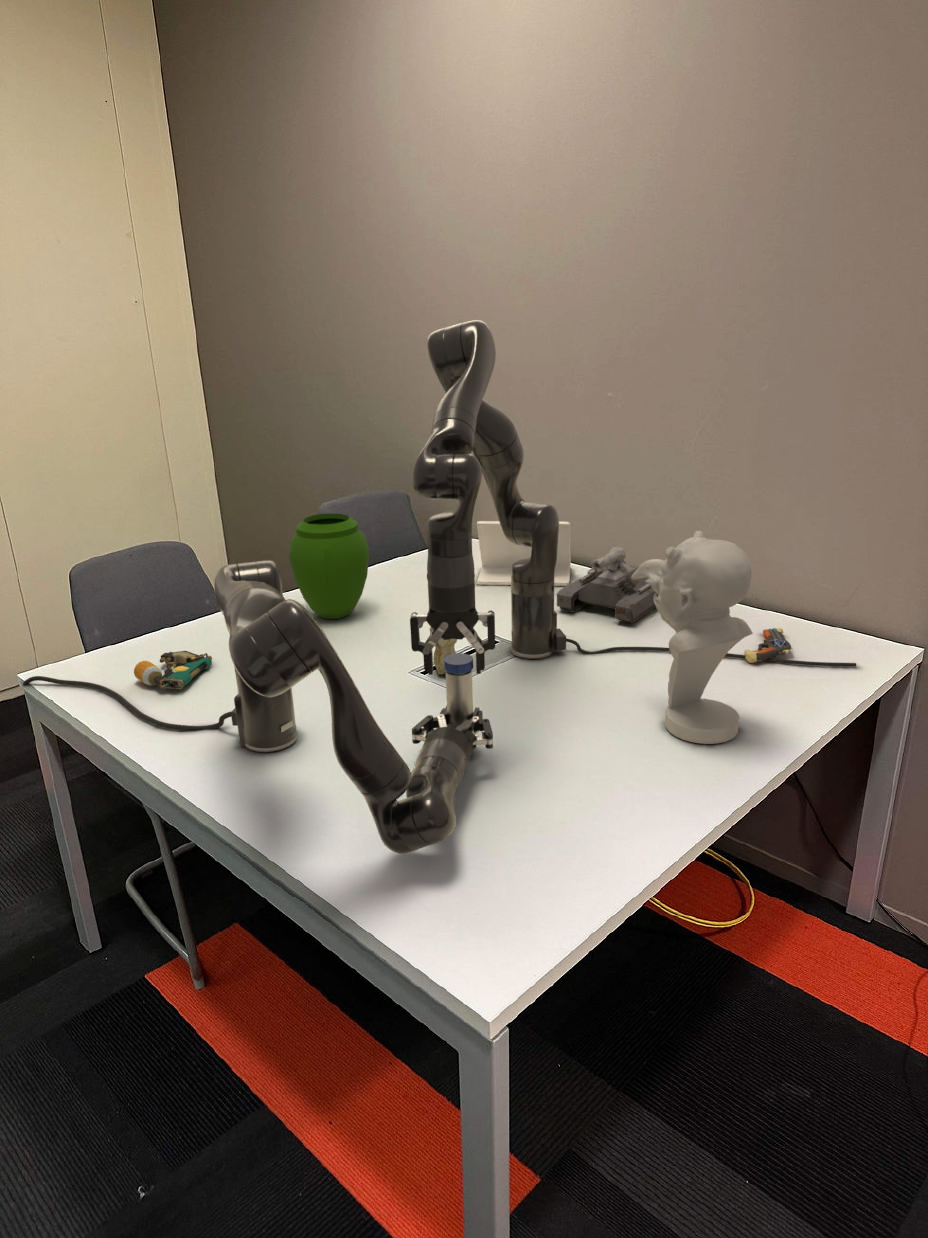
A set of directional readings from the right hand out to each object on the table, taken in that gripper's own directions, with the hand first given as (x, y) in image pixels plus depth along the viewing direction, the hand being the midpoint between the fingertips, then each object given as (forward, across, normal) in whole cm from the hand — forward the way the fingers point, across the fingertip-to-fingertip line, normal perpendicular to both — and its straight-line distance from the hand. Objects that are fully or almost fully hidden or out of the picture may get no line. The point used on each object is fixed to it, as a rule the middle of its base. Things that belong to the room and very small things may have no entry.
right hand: (454, 672), depth 142 cm
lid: (-2, -1, 0) cm, 2 cm away
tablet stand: (+15, -16, -98) cm, 101 cm away
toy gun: (+15, -66, -43) cm, 80 cm away
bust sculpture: (+15, -40, -10) cm, 44 cm away
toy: (+15, -38, -73) cm, 84 cm away
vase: (+15, +33, -70) cm, 79 cm away
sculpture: (+15, +3, -34) cm, 38 cm away
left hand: (+9, -1, -2) cm, 9 cm away
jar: (+15, -1, 0) cm, 15 cm away
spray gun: (+15, +60, -34) cm, 71 cm away
